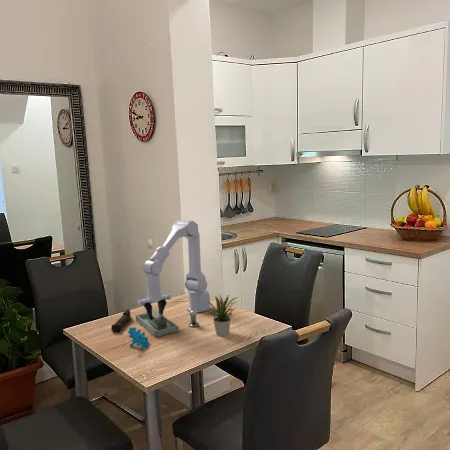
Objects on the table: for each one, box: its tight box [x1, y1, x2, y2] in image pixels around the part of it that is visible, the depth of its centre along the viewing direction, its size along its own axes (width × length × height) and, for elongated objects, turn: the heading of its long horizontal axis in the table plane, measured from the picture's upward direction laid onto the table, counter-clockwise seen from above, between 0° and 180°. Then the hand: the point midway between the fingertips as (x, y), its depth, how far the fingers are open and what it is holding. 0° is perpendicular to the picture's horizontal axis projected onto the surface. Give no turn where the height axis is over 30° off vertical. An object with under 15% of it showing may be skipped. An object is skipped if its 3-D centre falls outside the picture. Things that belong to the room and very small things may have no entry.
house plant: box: [207, 294, 240, 337], centre depth 185 cm, size 14×14×16 cm
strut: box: [145, 309, 167, 329], centre depth 198 cm, size 4×14×4 cm, turn 30°
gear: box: [127, 326, 150, 349], centre depth 178 cm, size 11×6×10 cm
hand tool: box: [111, 309, 131, 334], centre depth 202 cm, size 19×4×5 cm, turn 171°
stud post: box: [188, 310, 200, 328], centre depth 197 cm, size 4×4×7 cm
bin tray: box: [135, 310, 179, 338], centre depth 199 cm, size 10×24×2 cm, turn 30°
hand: (155, 318), depth 199 cm, fingers closed on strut, 4 cm apart
